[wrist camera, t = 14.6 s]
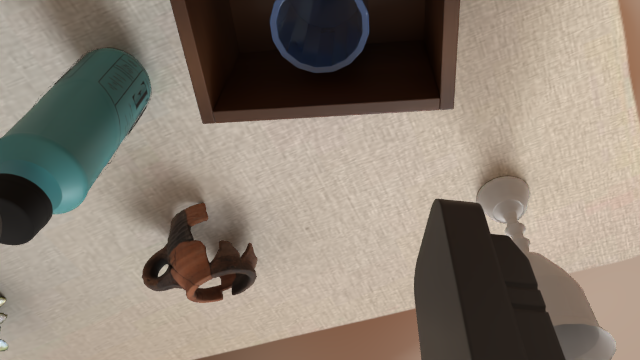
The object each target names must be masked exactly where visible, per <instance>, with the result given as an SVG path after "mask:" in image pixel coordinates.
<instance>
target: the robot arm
mask: <svg viewBox="0 0 640 360" xmlns="http://www.w3.org/2000/svg"><path fill="white" fill-rule="evenodd" d="M1 233H2V220H1V216H0V237H1ZM414 296H415V305H416V314H417V323H418V332H419V340H420V350H421V359H422V360H566V359H565V356H564V354H563V351H562V348H561V346H560V343H559V340H558V337H557V335H556V332H555V329H554V327H553V324H552V321H551V318H550V316H549V313H548V312H546V305H545V302H544V299H543V297H542V294H541V291H540V290H538V283H537V280H536V278H535V275H534V272H533V269H532V267H531V264H530V261H529V259H528V258H527V256H526V255H525V254H524V253H523V252H522V251H521V250H520V249H519V247H518V246H517V245H516V244H515V243H514V242H513V241H512V239H511V238H510V237H509V236H506V235H496V234H490V231H489V228H488V224H487V221H486V218H485V214H484V211H483V208H482V206H481V204H479V203H474V202H464V201H454V200H444V199H435V201H434V202H433V204H432V207H431V211H430V214H429V218H428V222H427V225H426V229H425V233H424V236H423V240H422V244H421V247H420V251H419V255H418V258H417V262H416V268H415V277H414Z"/></svg>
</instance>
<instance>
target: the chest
mask: <svg viewBox="0 0 640 360" xmlns="http://www.w3.org/2000/svg"><path fill="white" fill-rule="evenodd" d="M274 1H275V0H170V2H171V6H172V10H173V13H174V17H175V21H176V25H177V28H178V32H179V36H180V40H181V43H182V47H183V51H184V55H185V59H186V62H187V66H188V70H189V74H190V77H191V81H192V85H193V89H194V92H195V96H196V100H197V104H198V108H199V111H200V115H201V119H202V123H203V124H208V123H215V122H216V123H225V122H242V121H259V120H277V119H294V118H311V117H328V116H345V115H362V114H380V113H397V112H414V111H431V110H439V109H440V110H448V109H454V95H455V78H456V61H457V44H458V27H459V9H460V0H368V8H369V30H370V32H369V36H368V38H367V41H366V44H365V46H364V49H363V51H362V52H361V53H360V54H359V55H358V56H357V57H356V58H355V60H354V61H353V62H352V63H351V64H349V65H347V66H345V67H343V68H341V69H339V70H337V71H334V72H326V73H312V72H309V71H306V70H303V69H299V68H297V67H295V66H294V65H293V64H292V63H290V62H289V61H288V60H286V59H285V58H284V57H283V56H282V55H281V54H280V52H279V50H278V49H277V47H276V45H275V44H274V42H273V40H272V35H271V29H270V22H269V21H270V16H271V12H272V8H273V4H274Z"/></svg>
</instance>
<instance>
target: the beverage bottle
mask: <svg viewBox="0 0 640 360" xmlns="http://www.w3.org/2000/svg"><path fill="white" fill-rule="evenodd" d="M93 50H94V49H93ZM85 54H86V53H85ZM82 57H83V56H81V57H80V58H81V59H80V61H79V62H78V60H77V62H78V63H77V64H76V65H75V66H73V67H72V69H71V68H69V69H70V70H69V71H68V72H67V73H66V72H65V73H66V74H64V75H63V76H62V77H61V78H60V79H58V81H57V80H56V81H57V82H56V83H55V85H54V84H53V85H54V86H53V87H52V88H51V89H50V90H49V91H48V92H47V93H46V94H45V95H44V96H43V97H42V98H41V99H40V100H39V102H38V103H37V104H36V105H35V104H34V105H35V106H33V108H32V109H31V110H30V111H29V112H28V113H27V114H26V115H25V116H24V117H23V118H22V119H20V120H19V121H18V122H17V123H16V124H15V125H14V126H13V127H12V128H11V129H10V130H9V131H8V132H7V133H6V134H5V135H4V136H3V137H2V138H0V216H1V220H2V233H1V237H0V243H2V244H6V245H20V244H24V243H27V242H28V241H30V240H31V239H33V237H34V236H35V235H36V234H37V233H38V232H39V231H40V230H41V229H42V228H43V227H44V226H45V225H46V224H47V223H48V221H49V220H50V218H51V217H52V214H61V213H66V212H69V211H71V210H73V209H75V208H76V207H78V206H79V205H80V204H81V203H82V202H83V200H84V199H85V197H86V195H87V193H88V191H89V189H90V188H91V186H92V185H93V183H94V182H95V180H96V179H97V178H98V177H99V174H100V173H101V171H102V170H103V168H104V167H105V166H106V164H107V163H108V162H109V160H110V159H111V157H112V156H113V154H114V153H115V151H116V150H117V149H118V147H119V145H120V144H121V142H122V141H123V139H124V138H125V137H126V135H128V134H129V133H130V131H131V130H132V129H133V128H132V127H134V126H135V125H134V124H136V123H137V122H138V120H139V119H140V116H142V113H143V112H144V110H145V109H146V107H147V106H148V105H147V106H146V104H147V103H148V101H149V100H150V93H151V84H150V79H149V76H148V74H147V72H146V70H145V69H144V67H143V66H142V65H141V64H140V63H139V62H138V61H137V60H136V59H135V58H134V57H132V56H131V55H129V54H128V53H126V52H123V51H121V50H118V49H113V48H102V49H97V50H94V51H91V52H88V54H86V55H84V57H83V58H82ZM75 62H76V61H75ZM43 93H44V92H43ZM145 106H146V107H145ZM144 107H145V109H144ZM143 109H144V110H143ZM142 110H143V112H142ZM141 112H142V113H141ZM140 114H141V115H140ZM139 115H140V116H139ZM138 116H139V118H138ZM136 120H137V121H136ZM135 121H136V122H135ZM133 125H134V126H133ZM131 128H132V129H131ZM129 130H130V131H129ZM128 132H129V133H128ZM127 133H128V134H127ZM116 152H117V151H116ZM110 163H111V162H110ZM108 164H109V163H108ZM105 170H106V169H105Z"/></svg>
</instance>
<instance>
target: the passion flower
mask: <svg viewBox="0 0 640 360" xmlns="http://www.w3.org/2000/svg"><path fill="white" fill-rule="evenodd" d="M5 301H6V299H5V298H3V297H0V307H1V306H2V305H3V304H4V303H5ZM6 318H7V315H5V314H4V313H0V324H1V323H2V322H3V321H4V320H5V319H6ZM0 329H1V327H0ZM7 349H8V344H7V343H6V342H5V341H4V340H1V339H0V351H5V350H7Z"/></svg>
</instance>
